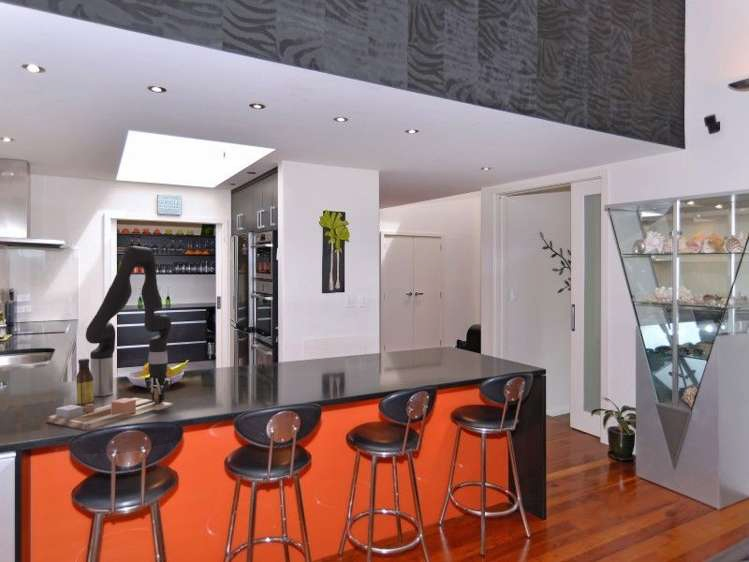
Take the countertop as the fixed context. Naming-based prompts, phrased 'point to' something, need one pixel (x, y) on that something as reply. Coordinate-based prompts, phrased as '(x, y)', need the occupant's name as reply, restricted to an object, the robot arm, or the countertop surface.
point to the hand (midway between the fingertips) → (158, 401)
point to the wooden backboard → (105, 415)
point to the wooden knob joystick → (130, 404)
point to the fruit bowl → (139, 376)
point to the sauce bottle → (84, 383)
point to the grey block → (73, 411)
